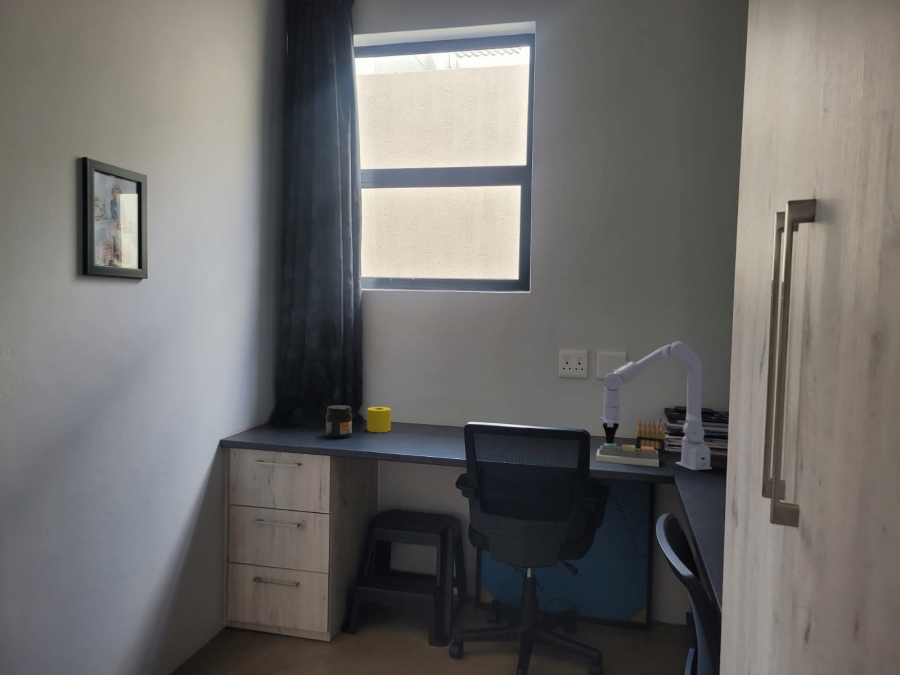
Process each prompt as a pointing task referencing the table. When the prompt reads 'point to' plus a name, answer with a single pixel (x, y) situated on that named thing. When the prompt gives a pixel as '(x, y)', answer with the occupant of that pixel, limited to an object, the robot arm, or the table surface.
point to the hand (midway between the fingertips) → (609, 443)
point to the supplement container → (338, 421)
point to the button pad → (627, 457)
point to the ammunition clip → (651, 436)
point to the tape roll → (379, 419)
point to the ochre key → (628, 448)
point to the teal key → (609, 446)
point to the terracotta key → (647, 449)
